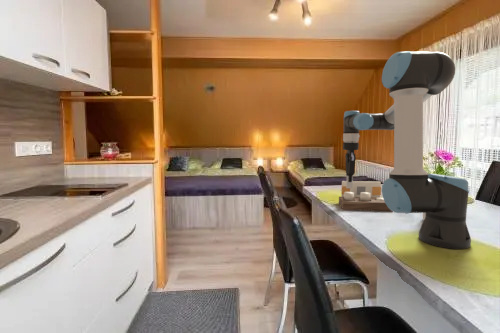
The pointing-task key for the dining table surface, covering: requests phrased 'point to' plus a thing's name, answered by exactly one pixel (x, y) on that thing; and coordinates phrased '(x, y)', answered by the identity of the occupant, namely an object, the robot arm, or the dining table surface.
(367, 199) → the button
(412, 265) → the dining table surface
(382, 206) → the button board
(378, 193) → the pattern card
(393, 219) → the dining table surface
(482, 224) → the dining table surface
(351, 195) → the button
